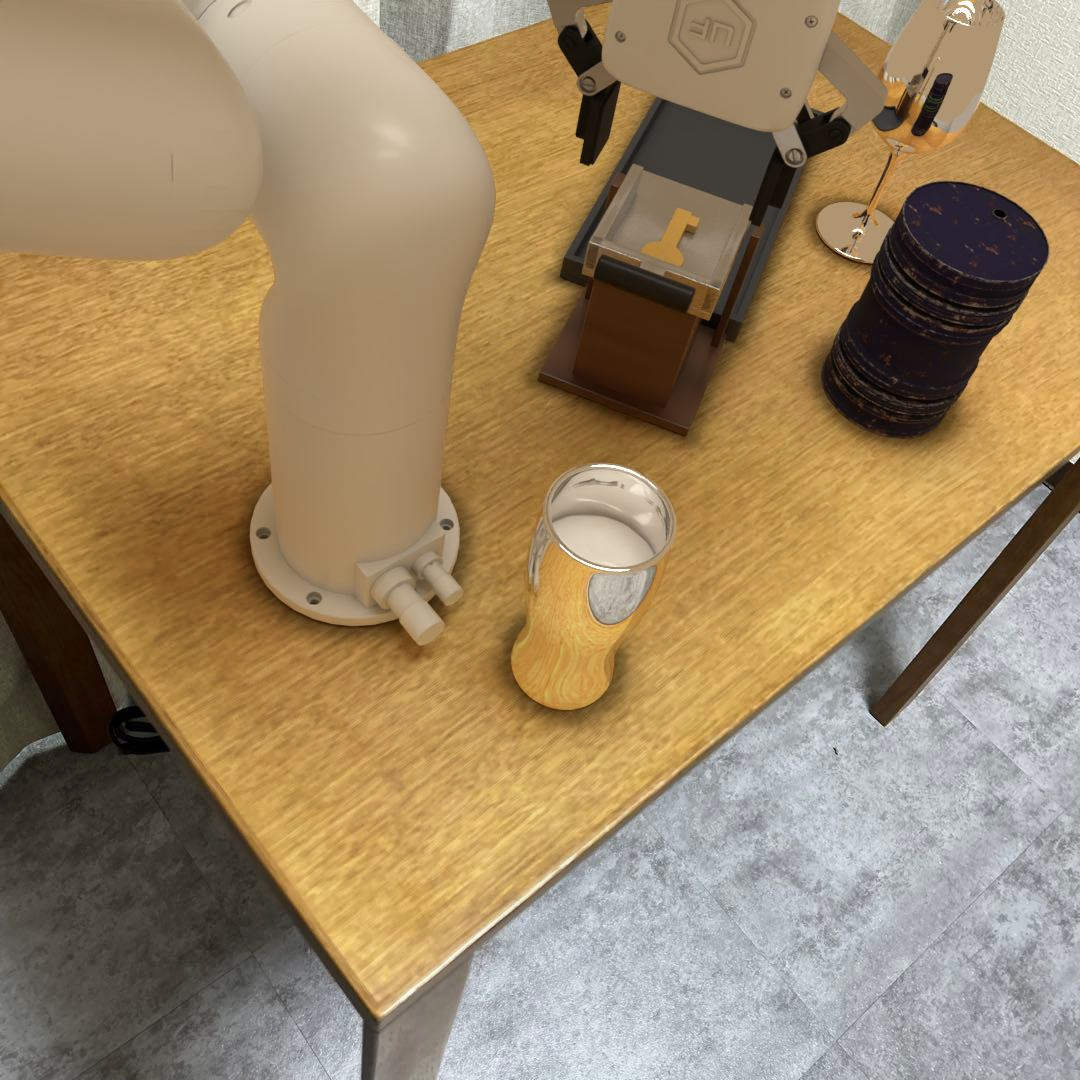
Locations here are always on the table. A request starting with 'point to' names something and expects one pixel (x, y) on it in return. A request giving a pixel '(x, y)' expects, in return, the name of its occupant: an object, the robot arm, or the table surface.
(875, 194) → the wineglass
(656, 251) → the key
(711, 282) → the translucent box
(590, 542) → the beer glass
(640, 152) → the tray
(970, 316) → the dark purple cylinder
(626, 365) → the stand
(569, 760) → the table surface
